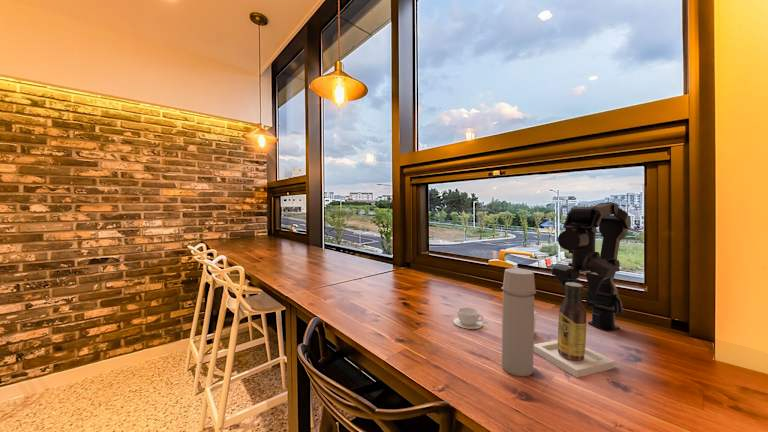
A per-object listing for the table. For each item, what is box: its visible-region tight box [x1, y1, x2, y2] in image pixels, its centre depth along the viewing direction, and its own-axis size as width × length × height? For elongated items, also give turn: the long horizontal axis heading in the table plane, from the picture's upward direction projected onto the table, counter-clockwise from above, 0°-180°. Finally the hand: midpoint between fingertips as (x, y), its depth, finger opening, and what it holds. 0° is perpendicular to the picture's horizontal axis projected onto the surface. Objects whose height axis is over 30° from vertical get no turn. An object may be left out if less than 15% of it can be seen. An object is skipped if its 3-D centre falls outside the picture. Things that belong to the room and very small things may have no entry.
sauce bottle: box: [557, 282, 588, 361], centre depth 75 cm, size 7×6×20 cm
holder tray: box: [533, 339, 616, 378], centre depth 75 cm, size 13×13×2 cm
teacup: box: [452, 306, 484, 330], centre depth 97 cm, size 10×10×5 cm
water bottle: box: [500, 267, 537, 378], centre depth 70 cm, size 9×8×25 cm
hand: (582, 298), depth 85 cm, fingers open, 9 cm apart
